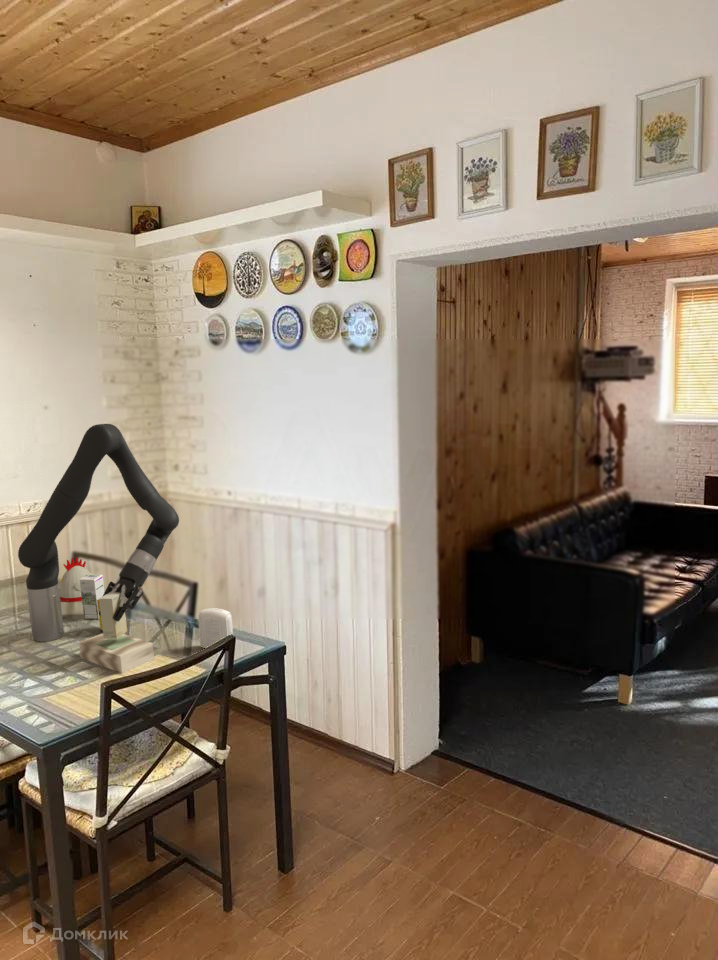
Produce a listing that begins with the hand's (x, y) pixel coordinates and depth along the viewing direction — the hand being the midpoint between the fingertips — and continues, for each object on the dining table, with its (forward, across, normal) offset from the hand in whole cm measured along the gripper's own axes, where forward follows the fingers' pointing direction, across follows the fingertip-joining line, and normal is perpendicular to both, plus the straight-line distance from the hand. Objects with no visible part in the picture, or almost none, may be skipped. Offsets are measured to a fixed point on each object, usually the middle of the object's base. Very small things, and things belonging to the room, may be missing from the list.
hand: (108, 617), depth 209 cm
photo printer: (-6, +20, +26) cm, 33 cm away
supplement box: (-1, -21, +20) cm, 29 cm away
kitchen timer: (-11, -64, +30) cm, 72 cm away
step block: (+8, 0, +10) cm, 13 cm away
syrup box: (-4, -38, +23) cm, 45 cm away
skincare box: (+3, 0, +6) cm, 6 cm away
